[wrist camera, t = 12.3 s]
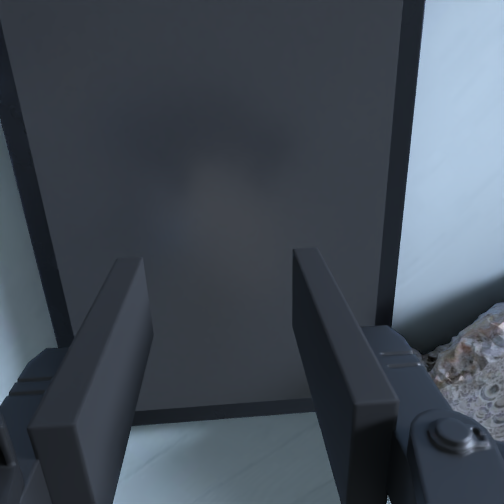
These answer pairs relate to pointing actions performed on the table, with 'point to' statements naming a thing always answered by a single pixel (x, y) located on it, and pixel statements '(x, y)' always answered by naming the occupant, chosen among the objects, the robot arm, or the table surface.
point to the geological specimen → (473, 370)
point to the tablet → (212, 173)
